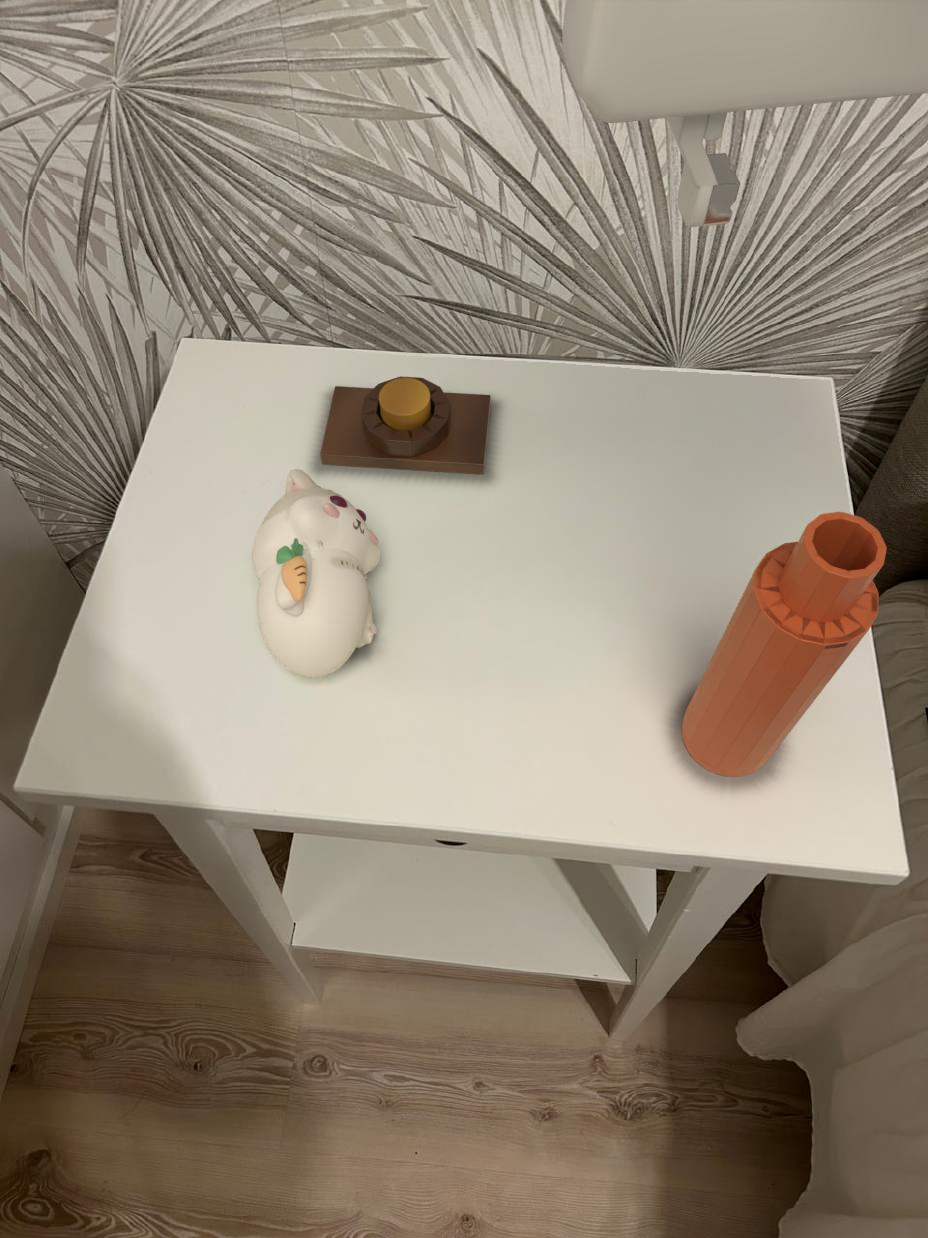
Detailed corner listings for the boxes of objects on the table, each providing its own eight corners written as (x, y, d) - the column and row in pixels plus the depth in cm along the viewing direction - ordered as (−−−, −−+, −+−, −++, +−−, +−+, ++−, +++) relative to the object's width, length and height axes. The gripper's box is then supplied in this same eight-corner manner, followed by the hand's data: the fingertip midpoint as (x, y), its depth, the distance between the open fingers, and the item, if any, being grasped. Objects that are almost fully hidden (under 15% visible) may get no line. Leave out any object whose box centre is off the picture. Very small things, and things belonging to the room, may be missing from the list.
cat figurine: (312, 636, 53) (307, 426, 59) (213, 670, 56) (217, 469, 62) (404, 676, 60) (391, 487, 66) (312, 704, 64) (307, 522, 70)
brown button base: (490, 404, 75) (491, 378, 72) (483, 474, 71) (483, 449, 68) (336, 395, 75) (331, 369, 73) (322, 464, 72) (316, 439, 69)
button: (433, 394, 72) (432, 378, 70) (428, 432, 70) (427, 416, 68) (384, 391, 72) (382, 375, 70) (377, 429, 70) (375, 413, 68)
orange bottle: (756, 688, 61) (883, 484, 42) (785, 770, 58) (935, 590, 39) (671, 700, 61) (760, 499, 42) (695, 783, 58) (803, 608, 39)
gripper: (618, -263, 18) (563, 290, 30) (1536, -328, 19) (1135, 230, 31) (560, -357, 22) (531, 177, 33) (1353, -408, 23) (1051, 126, 35)
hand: (828, 203), depth 32 cm, fingers open, 8 cm apart
